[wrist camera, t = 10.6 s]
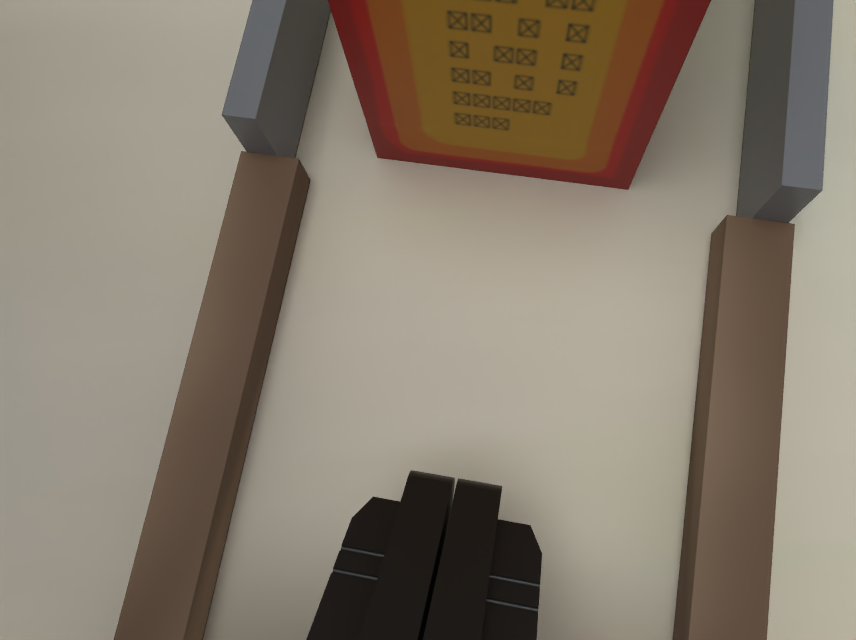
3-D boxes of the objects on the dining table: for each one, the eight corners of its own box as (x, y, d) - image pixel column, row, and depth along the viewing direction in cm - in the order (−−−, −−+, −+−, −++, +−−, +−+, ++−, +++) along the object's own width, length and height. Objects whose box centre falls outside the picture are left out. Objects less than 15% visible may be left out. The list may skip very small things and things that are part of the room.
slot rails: (97, 795, 16) (66, 818, 15) (255, 172, 20) (241, 151, 18) (722, 951, 14) (742, 990, 13) (774, 242, 18) (794, 224, 17)
